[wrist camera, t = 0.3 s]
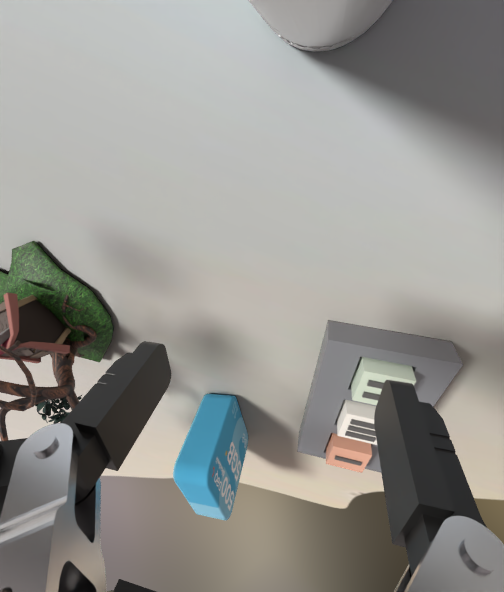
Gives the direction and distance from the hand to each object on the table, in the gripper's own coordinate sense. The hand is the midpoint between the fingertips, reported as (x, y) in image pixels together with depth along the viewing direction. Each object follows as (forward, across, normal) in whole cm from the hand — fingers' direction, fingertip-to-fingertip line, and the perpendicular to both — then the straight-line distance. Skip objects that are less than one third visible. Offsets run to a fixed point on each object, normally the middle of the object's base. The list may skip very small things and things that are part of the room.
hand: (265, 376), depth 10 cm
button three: (+17, -9, +21) cm, 29 cm away
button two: (+17, -9, +14) cm, 24 cm away
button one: (+17, -8, +28) cm, 34 cm away
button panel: (+18, -9, +21) cm, 30 cm away
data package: (+19, +9, +31) cm, 38 cm away
